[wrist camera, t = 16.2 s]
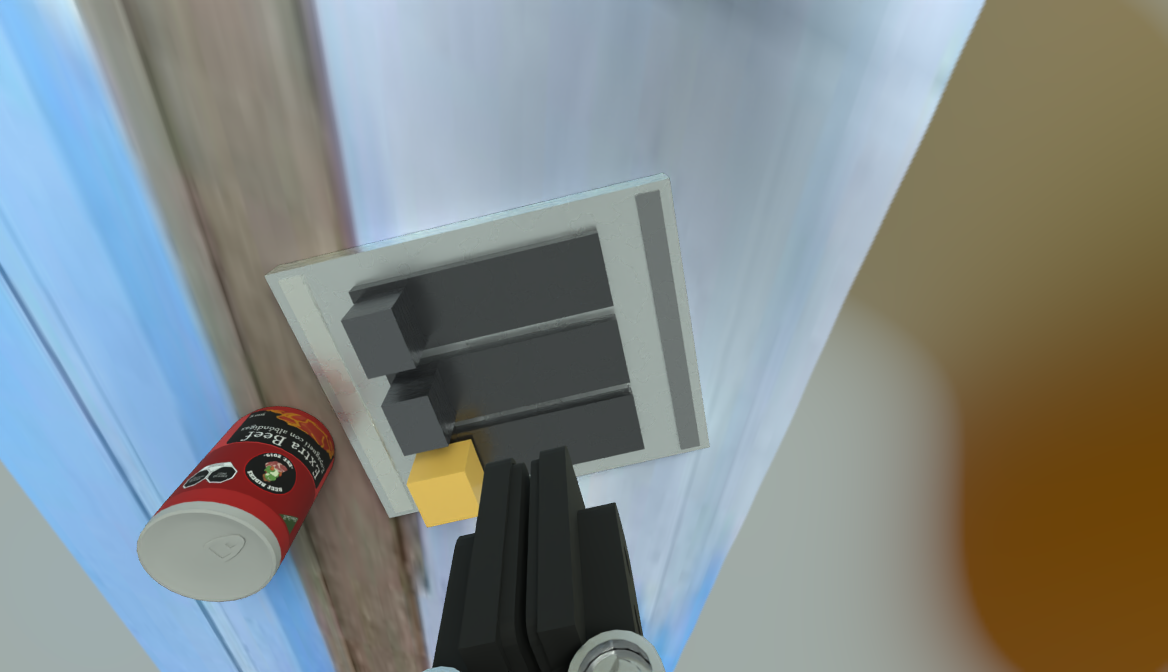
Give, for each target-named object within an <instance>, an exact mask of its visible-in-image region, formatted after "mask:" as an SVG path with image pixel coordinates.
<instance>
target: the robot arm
mask: <svg viewBox="0 0 1168 672" xmlns="http://www.w3.org/2000/svg"><path fill="white" fill-rule="evenodd" d="M423 672H665V669H664V666H663V664H662V661H661V658H660V657H659V655H658V653H657V651H656V649H655V648H654V646H653V645H652V644H651V643H650V642H648V641H647V640H646V639H645V638H644V637H643V633H642V627H641V621H640V616H639V610H638V604H637V598H636V593H635V587H634V581H633V576H632V570H631V565H630V560H629V555H628V550H627V546H626V541H625V537H624V533H623V529H622V525H621V521H620V517H619V513H618V510H617V506H616V503H610V504H606V505H601V506H597V507H592V508H587V509H585V505H584V502H583V498H582V495H581V492H580V488H579V485H578V482H577V478H576V475H575V472H574V468H573V465H572V461H571V458H570V455H569V452H568V449H567V446H562V447H557V448H553V449H548V450H544V451H540V454H539V459H536V460H532V461H531V470H530V475H529V472H528V469H527V467H526V464H525V463H524V462H523V463H518V464H516V461H515V460H514V458H508V459H504V460H499V461H495V462H490V463H487V464H486V465H485V470H484V476H483V483H482V490H481V496H480V503H479V510H478V517H477V523H476V530H475V533H473V534H469V535H464V536H460V537H459V538H458V539H457V542H456V545H455V549H454V555H453V560H452V565H451V571H450V576H449V581H448V587H447V592H446V597H445V603H444V608H443V614H442V619H441V624H440V630H439V635H438V640H437V646H436V651H435V656H434V662H433V667H432V668H431V669H427V670H425V671H423Z"/></svg>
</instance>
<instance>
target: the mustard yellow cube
mask: <svg viewBox="0 0 1168 672" xmlns="http://www.w3.org/2000/svg"><path fill="white" fill-rule="evenodd" d="M483 476H484V471H483V469H482V466H481V464H480V461H479V458H478V456H477V453H476V451H475V448H474V446H473V443H472V441H471V439H469V440H465V441H460V442H456V443H452V444H449V446H448V447H443V448H439V449H434V450H430V451H426V452H421V453H417V454H416V457H415V460H414V463H413V466H412V469H411V472H410V475H409V478H408V481H407V484H406V485H407V487H408V489H409V491H410V493H411V495H412V497H413V499H414V501H415V503H416V505H417V507H418V510H419V512H420V514H421V516H422V518H423V520H424V522H425V524H426V526H427V527H432V526H436V525H441V524H445V523H450V522H455V521H459V520H464V519H468V518H473V517H477V516H478V510H479V503H480V496H481V490H482V483H483Z"/></svg>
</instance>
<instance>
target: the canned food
mask: <svg viewBox="0 0 1168 672" xmlns="http://www.w3.org/2000/svg"><path fill="white" fill-rule="evenodd" d="M333 461H334V443H333V439H332V437H331V435H330V433H329V431H328V430H327V428H326V427H325V426H324V425H323V424H322V423H321V422H320V421H319V420H317V419H316V418H315V417H313V416H311V415H310V414H308V413H306V412H303V411H301V410H298V409H294V408H290V407H280V406H275V407H266V408H262V409H259V410H256V411H254V412H252V413H250V414H248V415H246V416H244V417H242V418H241V419H240V420H238V421H237V422H236V423H235V424H234V425H233V426H232V427H231V428H230V429H229V431H228V432H227V433H226V434H225V435H224V436H223V437H222V438H221V440H220V441H219V442H218V443H217V444H216V445H215V446H214V447H213V449H212V450H211V451H210V452H209V453H208V454H207V455H206V456H205V458H204V459H203V460H202V461H201V462H200V463H199V464H198V465H197V467H196V468H195V469H194V470H193V471H192V472H191V473H190V474H189V476H188V477H187V478H186V479H185V480H184V481H183V482H182V484H181V485H180V486H179V487H178V488H177V489H176V490H175V491H174V493H173V494H172V495H171V496H170V497H169V498H168V499H167V500H166V502H165V503H164V504H163V505H162V506H161V508H160V509H159V510H158V511H157V512H156V514H155V515H154V516H153V517H152V518H151V519H150V521H149V522H148V523H147V525H146V526H145V528H144V529H143V531H142V532H141V534H140V536H139V539H138V541H137V553H138V557H139V561H140V562H141V564H142V566H143V568H144V569H145V571H146V572H147V573H148V574H149V575H150V576H151V578H153V579H154V580H155V581H156V582H158V583H159V584H160V585H162V586H163V587H165V588H167V589H169V590H170V591H172V592H175V593H177V594H180V595H182V596H185V597H189V598H192V599H196V600H203V601H213V602H224V601H233V600H238V599H242V598H246V597H248V596H250V595H253V594H255V593H257V592H258V591H260V590H261V589H263V588H264V587H265V586H266V585H267V584H268V583H269V582H270V580H271V579H272V577H273V576H274V575H275V573H276V571H277V570H278V568H279V566H280V564H281V562H282V561H283V559H284V557H285V555H286V553H287V552H288V550H289V548H290V546H291V544H292V542H293V540H294V538H295V536H296V535H297V533H298V531H299V529H300V527H301V525H302V523H303V521H304V519H305V517H306V516H307V514H308V512H309V510H310V508H311V506H312V504H313V502H314V500H315V498H316V496H317V495H318V493H319V491H320V489H321V487H322V485H323V483H324V481H325V479H326V477H327V476H328V474H329V472H330V470H331V468H332V465H333Z"/></svg>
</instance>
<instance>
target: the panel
mask: <svg viewBox="0 0 1168 672" xmlns="http://www.w3.org/2000/svg"><path fill="white" fill-rule="evenodd" d="M265 278H266V280H267V282H268V284H269V286H270V288H271V290H272V292H273V294H274V296H275V298H276V299H277V301H278V303H279V305H280V307H281V309H282V311H283V313H284V315H285V317H286V319H287V321H288V323H289V325H290V326H291V328H292V330H293V332H294V334H295V336H296V338H297V340H298V342H299V344H300V346H301V348H302V350H303V352H304V354H305V355H306V357H307V359H308V361H309V363H310V365H311V367H312V369H313V371H314V373H315V375H316V377H317V379H318V381H319V383H320V384H321V386H322V388H323V390H324V392H325V394H326V396H327V398H328V400H329V402H330V404H331V406H332V408H333V410H334V411H335V413H336V415H337V417H338V419H339V421H340V423H341V425H342V427H343V429H344V431H345V433H346V435H347V437H348V439H349V440H350V442H351V444H352V446H353V448H354V450H355V452H356V454H357V456H358V458H359V460H360V462H361V464H362V466H363V468H364V469H365V471H366V473H367V475H368V477H369V479H370V481H371V483H372V485H373V487H374V489H375V491H376V493H377V495H378V496H379V498H380V500H381V502H382V504H383V506H384V508H385V510H386V512H387V514H388V516H389V518H391V517H396V516H401V515H405V514H410V513H414V512H419V510H418V507H417V505H416V503H415V501H414V499H413V497H412V495H411V493H410V491H409V489H408V487H407V485H406V484H407V481H408V478H409V475H410V472H411V469H412V466H413V463H414V460H415V457H416V454H417V453H421V452H426V451H430V450H434V449H439V448H443V447H448V446H449V444H452V443H456V442H460V441H465V440H469V439H471V441H472V443H473V446H474V448H475V451H476V453H477V456H478V458H479V461H480V464H481V466H482V469H483V471H484V470H485V465H486V464H487V463H490V462H495V461H499V460H504V459H508V458H514V460H515V461H516V464H518V463H523V462H524V463H525V464H526V467H527V469H528V472H529V475H530V470H531V461H532V460H536V459H539V454H540V451H544V450H548V449H553V448H557V447H562V446H567V449H568V452H569V455H570V458H571V461H572V465H573V468H574V472H575V475H576V477H577V476H581V475H586V474H590V473H595V472H599V471H604V470H609V469H613V468H618V467H622V466H627V465H631V464H636V463H640V462H645V461H649V460H654V459H658V458H663V457H667V456H672V455H676V454H681V453H685V452H690V451H694V450H699V449H703V448H708V447H710V446H709V439H708V432H707V426H706V419H705V412H704V406H703V399H702V392H701V385H700V379H699V372H698V365H697V359H696V352H695V345H694V339H693V332H692V325H691V318H690V312H689V305H688V298H687V292H686V285H685V278H684V272H683V265H682V258H681V252H680V245H679V238H678V231H677V225H676V218H675V211H674V205H673V198H672V191H671V185H670V178H669V177H667V176H666V175H665V174H664V173H660V174H656V175H652V176H648V177H644V178H640V179H635V180H631V181H627V182H623V183H619V184H615V185H611V186H606V187H602V188H598V189H594V190H590V191H586V192H581V193H577V194H573V195H569V196H565V197H561V198H557V199H552V200H548V201H544V202H540V203H536V204H532V205H528V206H523V207H519V208H515V209H511V210H507V211H503V212H499V213H494V214H490V215H486V216H482V217H478V218H474V219H470V220H465V221H461V222H457V223H453V224H449V225H445V226H440V227H436V228H432V229H428V230H424V231H420V232H416V233H411V234H407V235H403V236H399V237H395V238H391V239H387V240H382V241H378V242H374V243H370V244H366V245H362V246H358V247H353V248H349V249H345V250H341V251H337V252H333V253H329V254H324V255H320V256H316V257H312V258H308V259H304V260H299V261H295V262H291V263H287V264H283V265H279V266H277V267H276V268H274V269H273V270H272V271H270V272H269V273H267V274H266V275H265Z"/></svg>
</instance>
